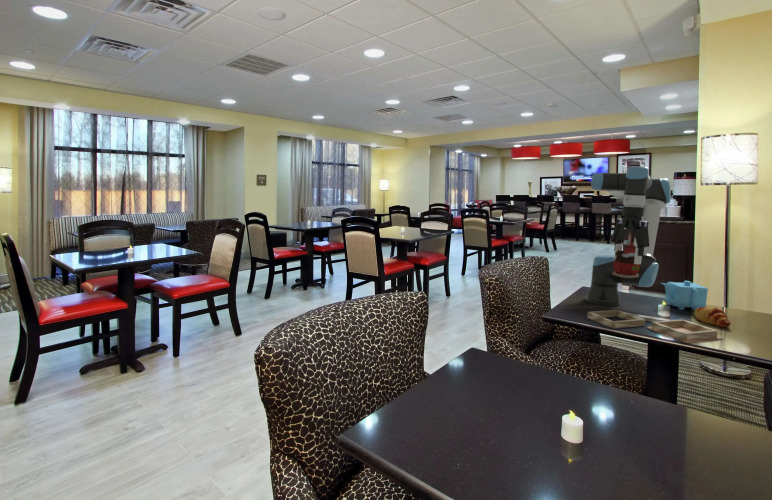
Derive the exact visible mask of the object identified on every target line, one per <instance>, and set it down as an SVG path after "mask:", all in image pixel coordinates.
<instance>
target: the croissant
mask: <svg viewBox="0 0 772 500" xmlns="http://www.w3.org/2000/svg"><path fill="white" fill-rule="evenodd" d="M693 312H694V313H693V314H694V317H695V318H696V319H697V320H699V321H701V322H703V323H705V324H706V323H707V324H709V325H710V324H711V325H712V326H716V327H721V328H726V327H730V326H731V324H732V322H731V321H730V320H729V317H728V315H727V314H726V312H725V311H724V310H723V309H721V308H718V307H711V306H709V307H706V306H705V307H700V308H697V309H696V310H693Z"/></svg>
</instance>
